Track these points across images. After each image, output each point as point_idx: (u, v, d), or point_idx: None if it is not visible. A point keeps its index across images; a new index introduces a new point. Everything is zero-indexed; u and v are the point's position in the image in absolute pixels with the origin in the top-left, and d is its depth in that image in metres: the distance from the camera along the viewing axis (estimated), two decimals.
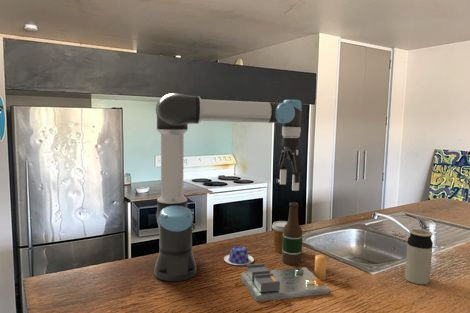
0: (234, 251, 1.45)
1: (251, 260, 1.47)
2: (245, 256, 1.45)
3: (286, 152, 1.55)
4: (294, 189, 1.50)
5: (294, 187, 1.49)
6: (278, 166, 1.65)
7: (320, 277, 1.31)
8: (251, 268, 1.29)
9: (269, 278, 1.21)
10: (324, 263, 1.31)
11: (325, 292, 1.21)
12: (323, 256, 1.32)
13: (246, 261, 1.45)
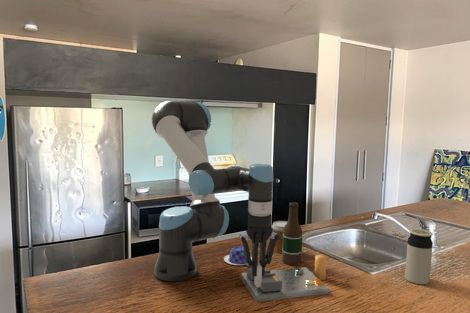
0: (233, 251, 1.45)
1: None
2: None
3: None
4: (255, 283, 1.19)
5: (255, 280, 1.19)
6: None
7: (320, 277, 1.31)
8: (251, 268, 1.29)
9: (271, 278, 1.21)
10: (324, 263, 1.31)
11: (325, 292, 1.21)
12: (323, 256, 1.32)
13: None
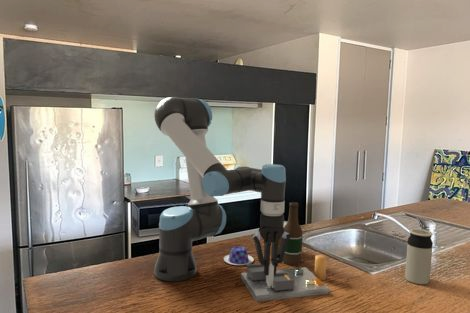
0: (233, 251, 1.45)
1: (251, 260, 1.47)
2: (245, 256, 1.45)
3: None
4: (266, 282, 1.20)
5: (266, 279, 1.20)
6: (277, 259, 1.21)
7: (320, 277, 1.31)
8: (251, 268, 1.29)
9: (283, 277, 1.22)
10: (324, 263, 1.31)
11: (325, 292, 1.21)
12: (323, 256, 1.32)
13: (246, 261, 1.45)
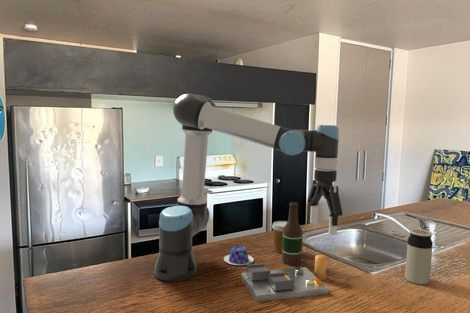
0: (233, 251, 1.45)
1: (251, 261, 1.46)
2: (244, 256, 1.45)
3: (320, 187, 1.30)
4: (331, 233, 1.24)
5: (331, 231, 1.24)
6: (308, 201, 1.39)
7: (320, 277, 1.31)
8: (251, 268, 1.29)
9: (283, 277, 1.22)
10: (324, 263, 1.31)
11: (325, 292, 1.21)
12: (323, 256, 1.32)
13: (245, 261, 1.45)
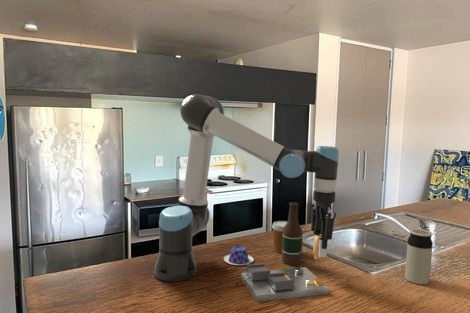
0: (232, 251, 1.46)
1: (250, 261, 1.46)
2: (244, 257, 1.45)
3: (318, 207, 1.31)
4: (321, 256, 1.30)
5: (321, 253, 1.30)
6: (312, 230, 1.35)
7: (319, 257, 1.30)
8: (251, 268, 1.29)
9: (283, 277, 1.22)
10: None
11: (325, 292, 1.21)
12: None
13: (244, 262, 1.45)
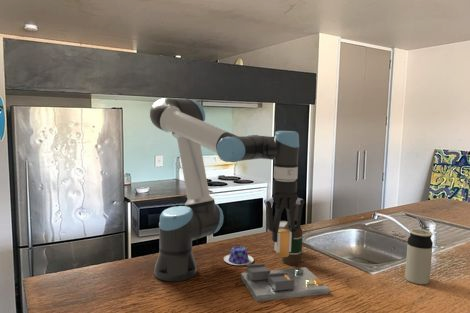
0: (232, 250, 1.46)
1: (250, 261, 1.46)
2: (243, 257, 1.45)
3: None
4: (275, 249, 1.20)
5: (275, 246, 1.20)
6: None
7: None
8: (251, 268, 1.29)
9: (283, 277, 1.22)
10: None
11: (325, 292, 1.21)
12: (284, 231, 1.18)
13: (244, 262, 1.45)
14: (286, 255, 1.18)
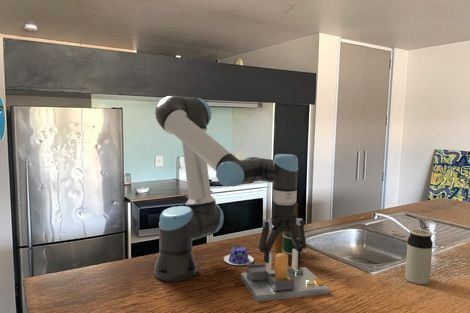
0: (232, 250, 1.46)
1: (250, 262, 1.45)
2: (243, 257, 1.45)
3: None
4: (266, 269, 1.20)
5: (266, 267, 1.20)
6: None
7: (275, 275, 1.21)
8: (251, 268, 1.29)
9: None
10: (276, 261, 1.19)
11: (325, 292, 1.21)
12: (282, 256, 1.19)
13: (244, 262, 1.44)
14: (284, 279, 1.19)
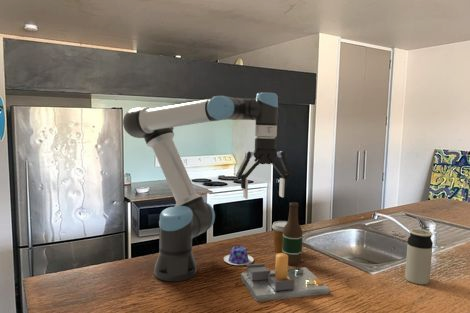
0: (232, 250, 1.46)
1: (249, 262, 1.45)
2: (242, 257, 1.44)
3: None
4: (243, 196, 1.30)
5: (243, 193, 1.30)
6: None
7: (275, 275, 1.21)
8: (251, 268, 1.29)
9: None
10: (276, 261, 1.19)
11: (325, 292, 1.21)
12: (283, 256, 1.19)
13: (243, 262, 1.44)
14: (284, 279, 1.19)
